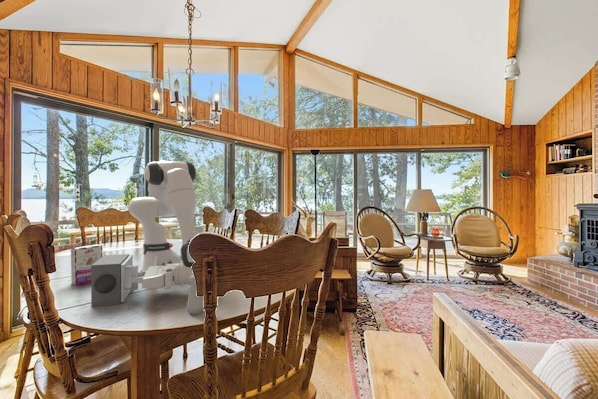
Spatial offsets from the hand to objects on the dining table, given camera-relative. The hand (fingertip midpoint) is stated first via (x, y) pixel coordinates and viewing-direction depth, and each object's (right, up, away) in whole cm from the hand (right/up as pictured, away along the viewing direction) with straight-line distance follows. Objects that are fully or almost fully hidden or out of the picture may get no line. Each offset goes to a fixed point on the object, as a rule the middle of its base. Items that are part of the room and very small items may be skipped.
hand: (132, 277), depth 115 cm
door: (-3, -8, +5) cm, 10 cm away
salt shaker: (+28, -9, -11) cm, 32 cm away
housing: (-9, -8, +3) cm, 13 cm away
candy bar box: (-33, -8, +22) cm, 40 cm away
